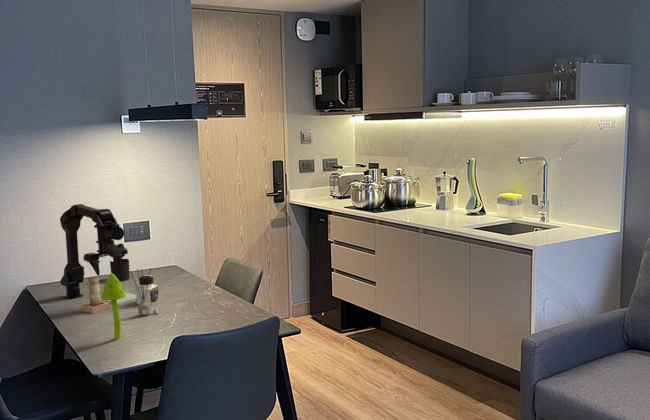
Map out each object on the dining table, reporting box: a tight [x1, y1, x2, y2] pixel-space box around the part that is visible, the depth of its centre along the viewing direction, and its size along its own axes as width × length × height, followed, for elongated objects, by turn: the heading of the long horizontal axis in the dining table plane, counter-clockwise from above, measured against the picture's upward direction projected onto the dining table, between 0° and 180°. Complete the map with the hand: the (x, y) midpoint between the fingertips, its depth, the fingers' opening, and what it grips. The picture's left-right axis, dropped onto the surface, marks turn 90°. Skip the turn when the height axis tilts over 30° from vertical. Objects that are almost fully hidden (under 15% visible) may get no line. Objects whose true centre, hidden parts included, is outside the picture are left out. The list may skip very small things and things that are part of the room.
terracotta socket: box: [80, 301, 111, 314], centre depth 270 cm, size 8×8×2 cm
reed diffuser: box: [129, 267, 160, 316], centre depth 260 cm, size 10×7×20 cm
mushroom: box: [101, 272, 126, 340], centre depth 231 cm, size 8×8×25 cm
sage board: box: [100, 291, 137, 306], centre depth 285 cm, size 13×13×1 cm
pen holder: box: [109, 258, 131, 282], centre depth 322 cm, size 9×9×10 cm
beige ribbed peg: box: [87, 276, 102, 307], centre depth 269 cm, size 4×4×14 cm
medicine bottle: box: [135, 274, 160, 306], centre depth 278 cm, size 7×7×12 cm
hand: (107, 273), depth 273 cm, fingers open, 9 cm apart
